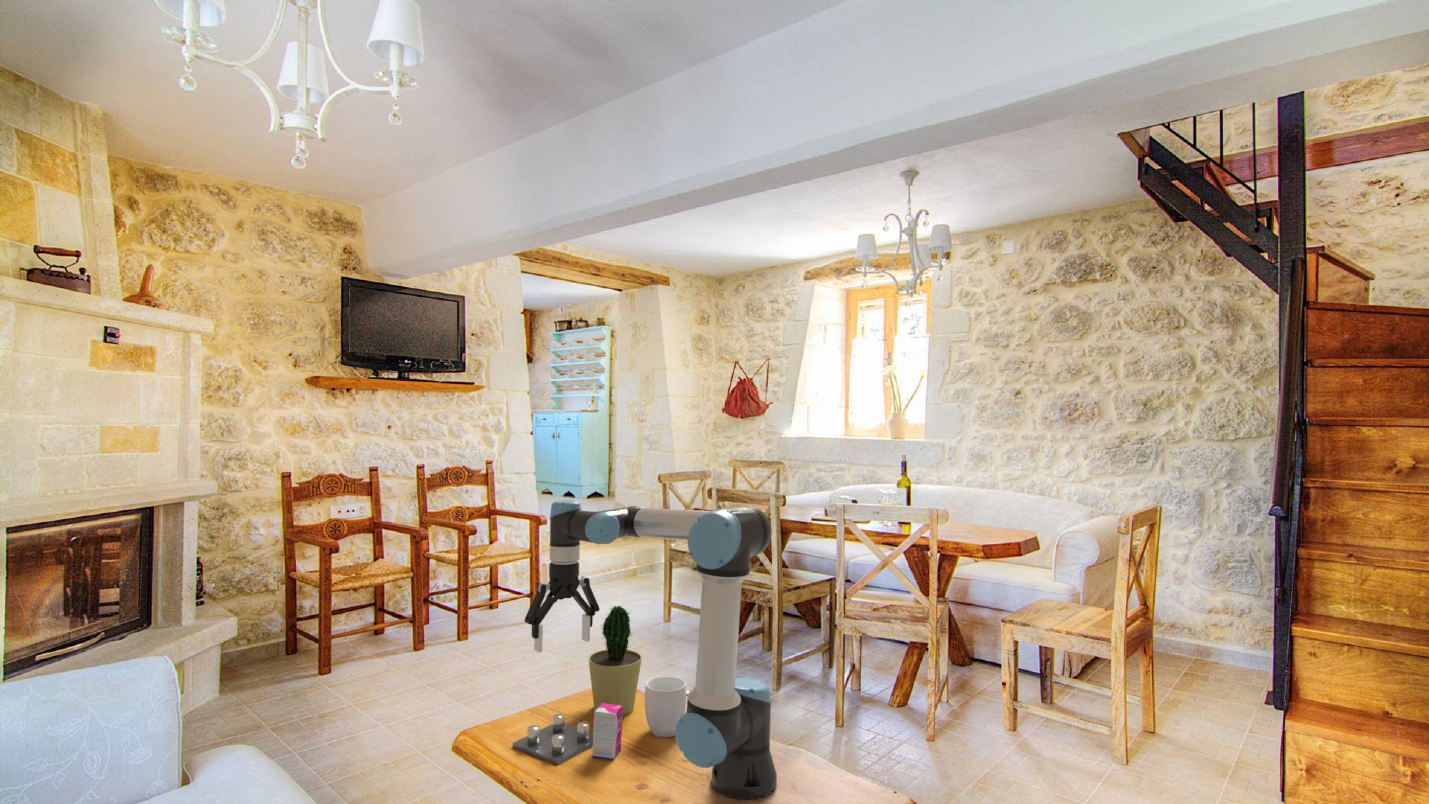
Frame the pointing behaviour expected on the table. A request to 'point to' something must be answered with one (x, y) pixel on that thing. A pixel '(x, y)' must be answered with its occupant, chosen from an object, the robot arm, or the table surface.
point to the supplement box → (607, 731)
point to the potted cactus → (615, 664)
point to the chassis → (556, 740)
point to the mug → (664, 704)
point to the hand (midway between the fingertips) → (562, 645)
